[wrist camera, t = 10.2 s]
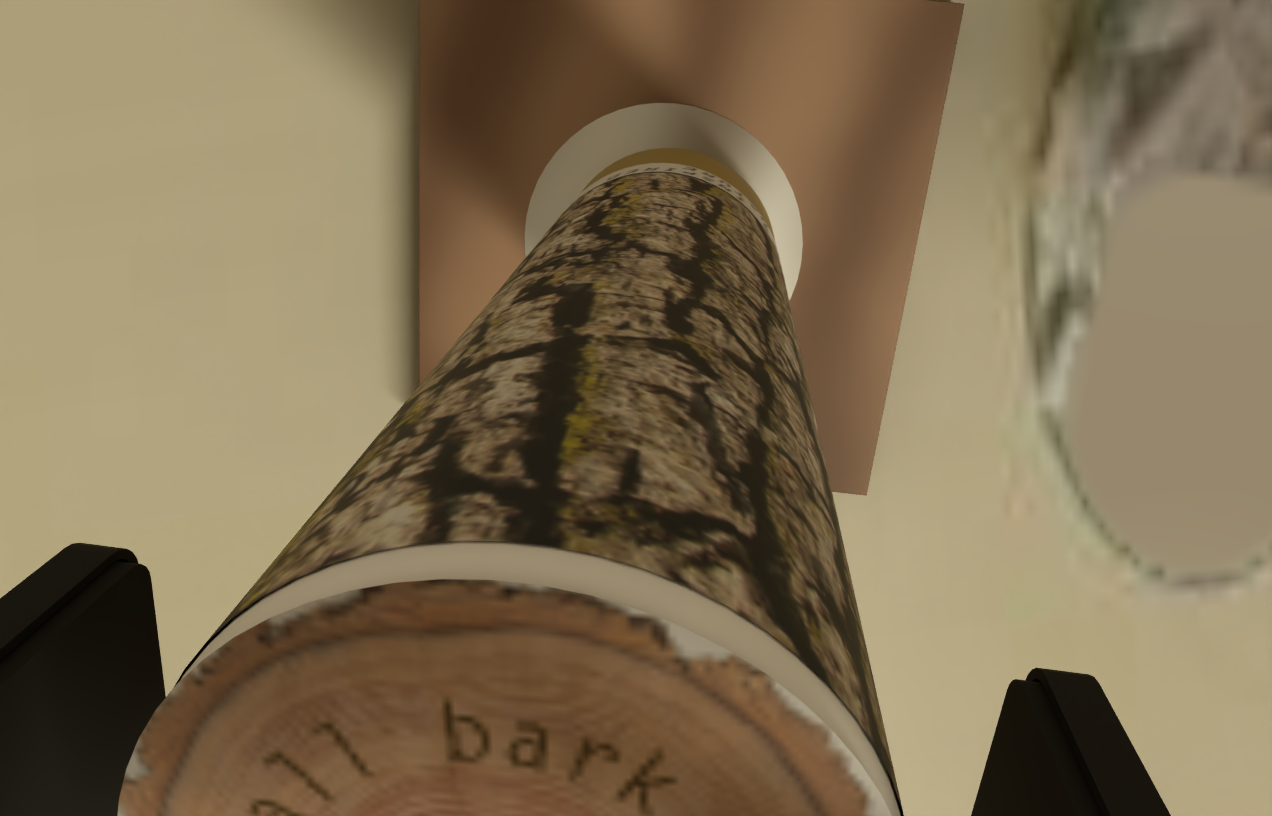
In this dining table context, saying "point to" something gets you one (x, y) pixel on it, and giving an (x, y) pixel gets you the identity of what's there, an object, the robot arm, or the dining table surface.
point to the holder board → (705, 123)
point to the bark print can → (563, 562)
